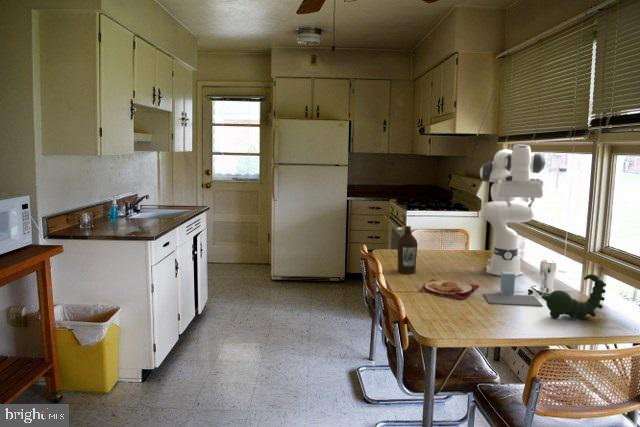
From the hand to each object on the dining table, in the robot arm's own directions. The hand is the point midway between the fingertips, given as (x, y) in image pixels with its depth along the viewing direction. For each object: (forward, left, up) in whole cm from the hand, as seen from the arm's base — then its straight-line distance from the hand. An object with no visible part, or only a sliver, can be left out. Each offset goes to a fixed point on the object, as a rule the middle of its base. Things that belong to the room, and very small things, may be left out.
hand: (519, 207), depth 240 cm
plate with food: (+14, -34, -40) cm, 54 cm away
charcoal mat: (+26, -7, -39) cm, 47 cm away
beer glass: (+10, +12, -39) cm, 42 cm away
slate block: (+16, -7, -39) cm, 42 cm away
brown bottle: (-17, -52, -39) cm, 67 cm away
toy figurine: (+46, +11, -39) cm, 61 cm away
